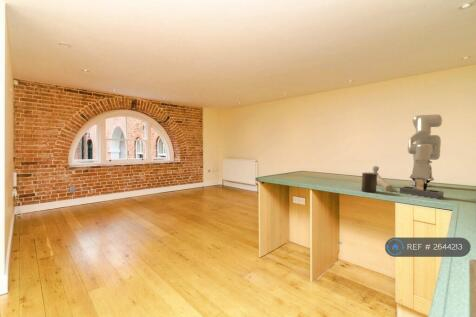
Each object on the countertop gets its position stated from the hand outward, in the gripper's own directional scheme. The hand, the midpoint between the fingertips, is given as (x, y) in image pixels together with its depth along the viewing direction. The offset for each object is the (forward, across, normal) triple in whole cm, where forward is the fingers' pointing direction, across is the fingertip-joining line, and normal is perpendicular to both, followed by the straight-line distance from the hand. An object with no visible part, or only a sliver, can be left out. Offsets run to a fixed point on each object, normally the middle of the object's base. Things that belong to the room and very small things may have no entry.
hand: (420, 188), depth 160 cm
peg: (+3, 0, 0) cm, 3 cm away
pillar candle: (+5, +26, +18) cm, 32 cm away
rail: (+5, 0, 0) cm, 5 cm away
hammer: (+5, +29, -5) cm, 30 cm away
